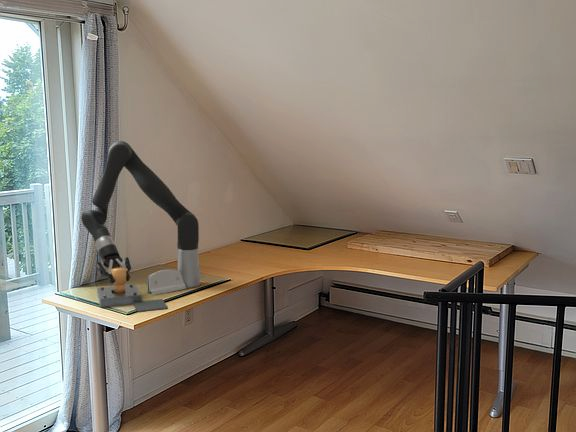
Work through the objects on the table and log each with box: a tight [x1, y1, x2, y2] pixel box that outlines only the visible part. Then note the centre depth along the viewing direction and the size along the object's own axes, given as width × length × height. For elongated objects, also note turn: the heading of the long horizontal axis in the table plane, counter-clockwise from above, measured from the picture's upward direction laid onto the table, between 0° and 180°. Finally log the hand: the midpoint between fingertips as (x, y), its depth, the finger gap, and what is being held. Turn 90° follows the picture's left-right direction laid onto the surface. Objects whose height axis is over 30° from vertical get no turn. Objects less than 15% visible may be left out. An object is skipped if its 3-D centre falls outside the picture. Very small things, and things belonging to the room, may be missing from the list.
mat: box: [133, 298, 169, 313], centre depth 247 cm, size 12×12×1 cm
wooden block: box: [111, 266, 128, 293], centre depth 253 cm, size 6×6×10 cm
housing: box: [96, 284, 142, 308], centre depth 254 cm, size 16×16×4 cm
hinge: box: [146, 269, 187, 296], centre depth 268 cm, size 17×5×10 cm, turn 126°
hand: (121, 281), depth 252 cm, fingers closed on wooden block, 6 cm apart
